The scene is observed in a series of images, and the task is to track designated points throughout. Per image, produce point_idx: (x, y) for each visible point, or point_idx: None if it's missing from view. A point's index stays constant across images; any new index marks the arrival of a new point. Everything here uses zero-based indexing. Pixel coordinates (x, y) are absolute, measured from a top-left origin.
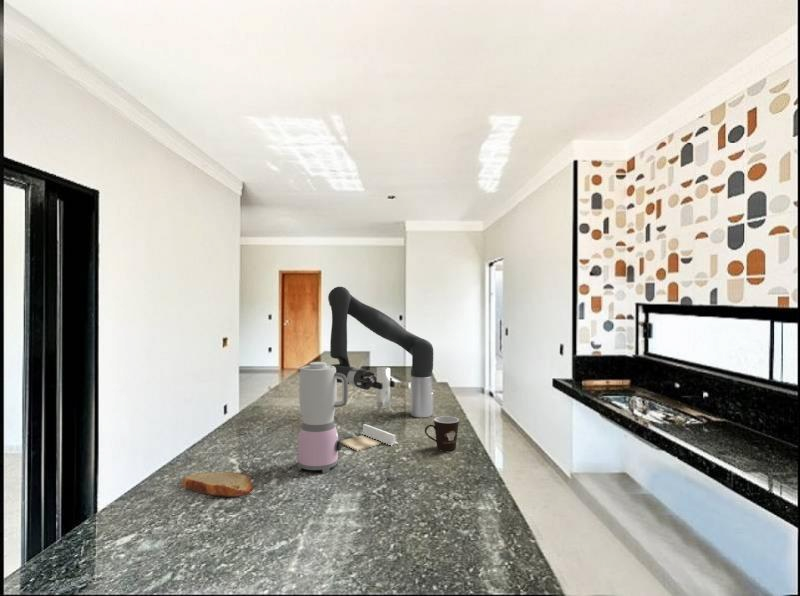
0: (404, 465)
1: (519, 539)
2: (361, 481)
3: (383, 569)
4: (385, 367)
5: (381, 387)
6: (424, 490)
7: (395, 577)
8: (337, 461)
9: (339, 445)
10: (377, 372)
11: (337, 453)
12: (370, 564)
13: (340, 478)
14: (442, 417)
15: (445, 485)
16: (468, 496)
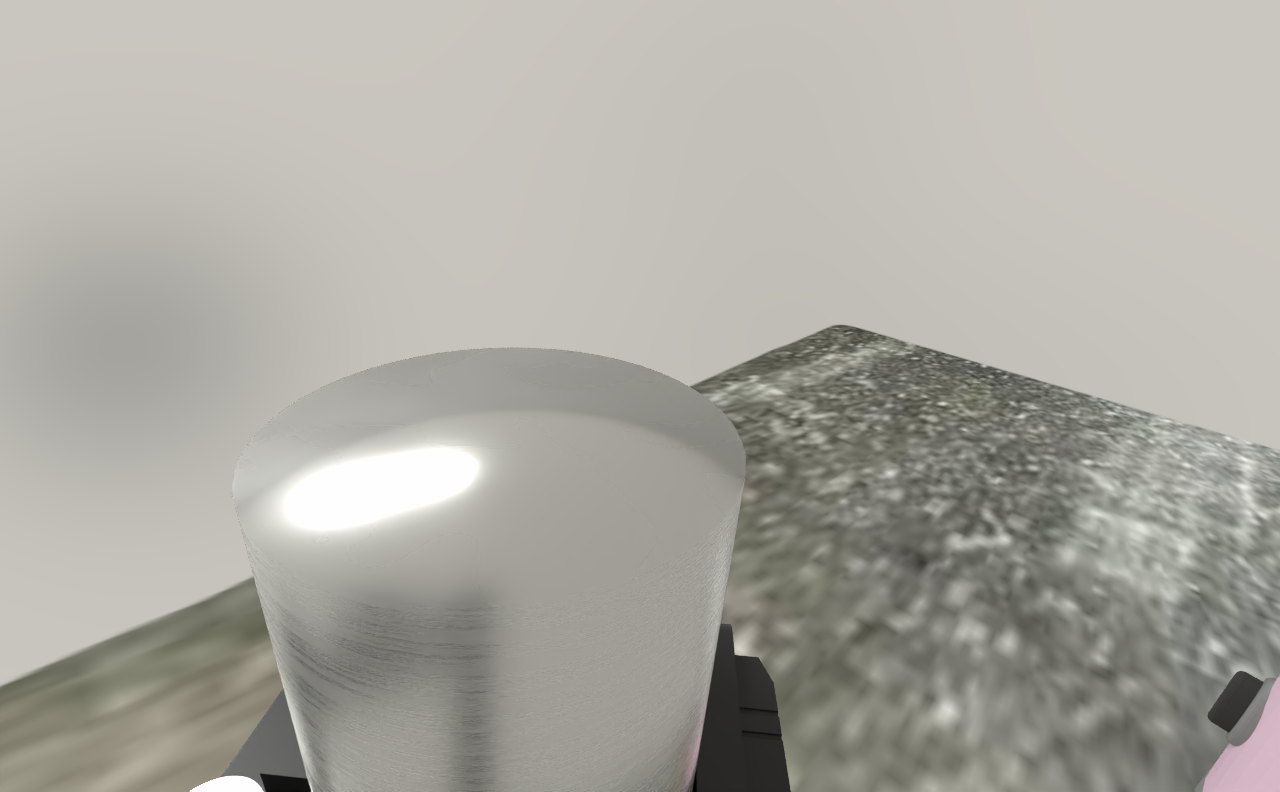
0: (792, 597)
1: (798, 349)
2: (1042, 607)
3: (1053, 400)
4: (360, 446)
5: None
6: (844, 470)
7: (1037, 388)
8: (1197, 788)
9: (1232, 678)
10: (729, 565)
11: (1222, 758)
12: (1075, 412)
13: (1150, 683)
14: None
15: (770, 456)
16: (762, 414)
